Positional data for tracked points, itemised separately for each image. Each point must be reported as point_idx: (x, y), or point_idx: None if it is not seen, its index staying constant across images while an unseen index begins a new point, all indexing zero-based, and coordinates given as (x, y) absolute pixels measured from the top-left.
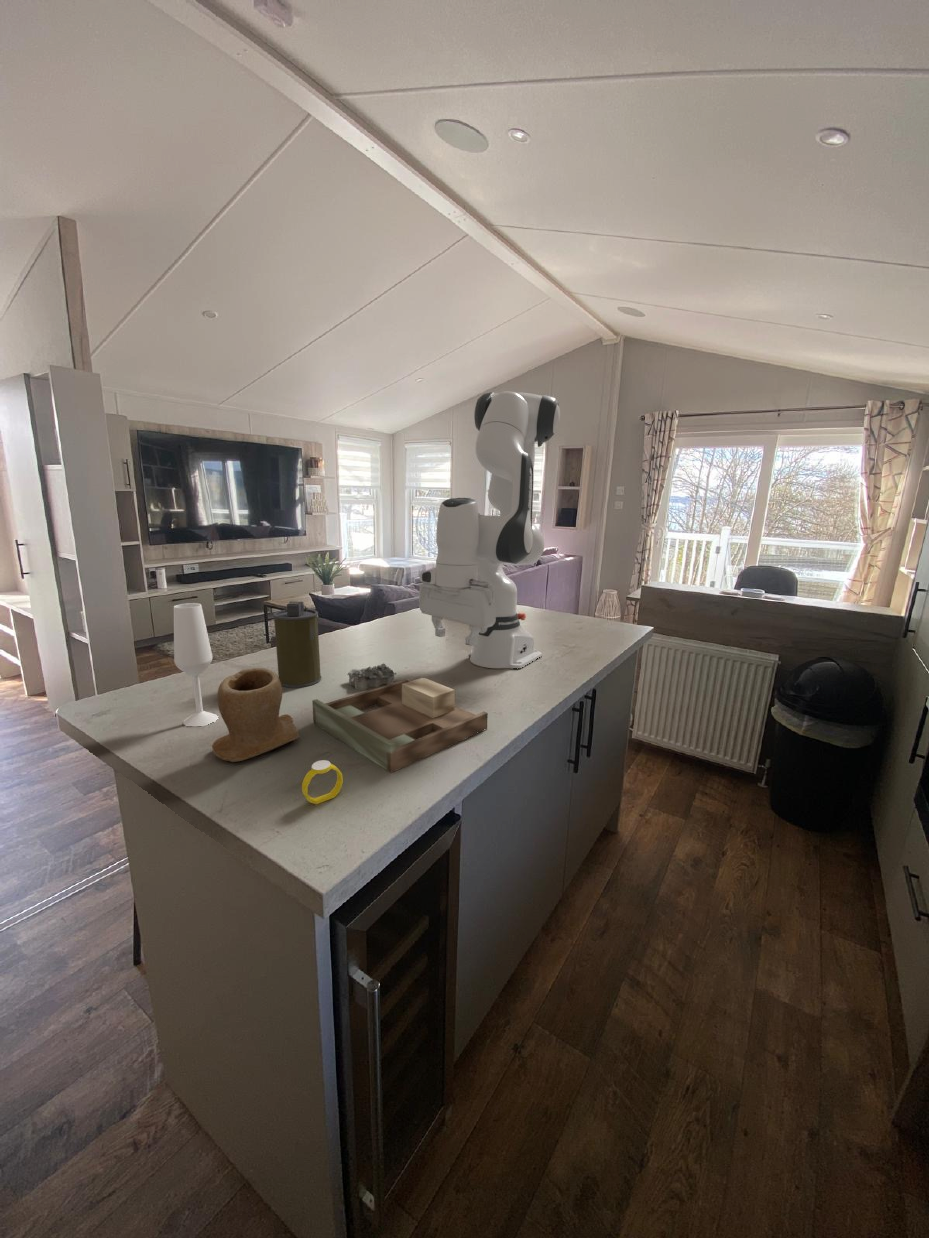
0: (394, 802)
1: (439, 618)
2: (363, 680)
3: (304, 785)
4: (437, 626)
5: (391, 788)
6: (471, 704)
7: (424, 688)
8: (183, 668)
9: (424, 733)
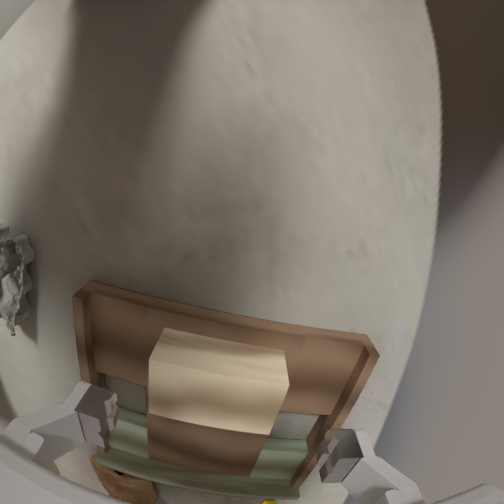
0: (328, 485)
1: (48, 465)
2: (18, 320)
3: None
4: (73, 442)
5: (312, 480)
6: (271, 243)
7: (213, 412)
8: None
9: None
